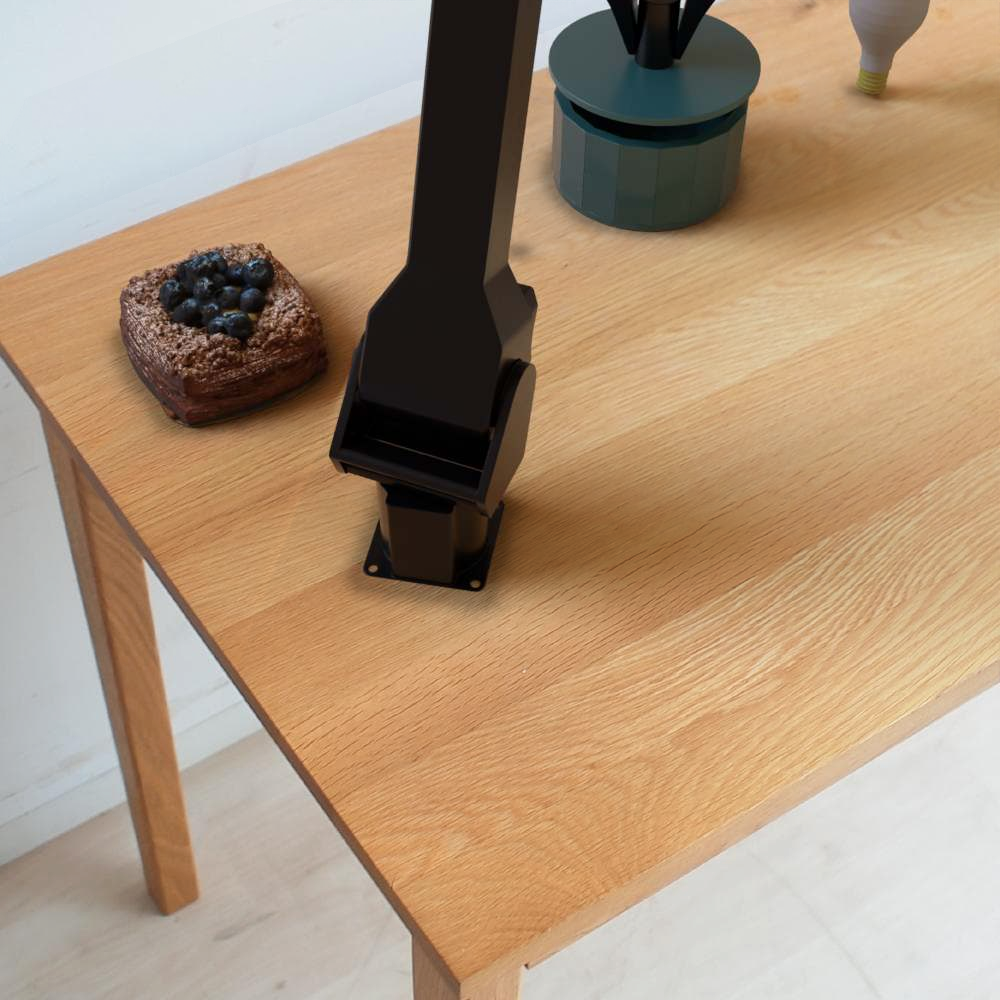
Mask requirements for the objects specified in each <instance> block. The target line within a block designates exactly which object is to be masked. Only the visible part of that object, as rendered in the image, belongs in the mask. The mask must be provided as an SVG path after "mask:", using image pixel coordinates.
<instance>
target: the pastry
mask: <svg viewBox="0 0 1000 1000" xmlns="http://www.w3.org/2000/svg"><path fill="white" fill-rule="evenodd" d="M128 281H129V284H126V285H125V286H124V287H123V288H122V289H121V291H120V296H119V304H120V318H119V320H118V323H119V327H120V334H121V340H122V342H123V345H124V347H125V350H126V353H127V357H128V359H129V362H130V363H131V365H132V367H133V369H134V371H135V372H136V375H137V376H138V378H139V379H140V381H141V382H142V383H143V385H144V386H145V387H146V388H147V389H148V391H149V392H150V393H151V395H153V396H154V398H155V399H156V400H157V401H158V403H159V404H160V406H161V408H162V410H163V411H164V413H165V415H166V417H167V418H168V419H171V420H172V421H174V422H176V423H178V424H180V425H183V426H186V427H202V426H206V425H212V424H216V423H222V422H225V421H230V420H234V419H238V418H241V417H245V416H249V415H250V414H254V413H256V412H259V411H262V410H265V409H267V408H268V409H269V408H270V407H274V406H276V405H278V404H281V403H283V402H285V401H289V400H291V399H292V398H294V397H296V396H298V395H299V394H301V393H302V392H304V391H305V390H307V389H309V388H310V387H312V385H314V384H315V383H316V382H318V381H319V380H320V379H321V378H323V377H324V376H325V375H327V373H328V370H329V365H330V363H331V360H330V359H329V356H328V355H329V354H328V350H327V346H328V342H327V340H326V337H325V334H324V327H323V322H322V317H321V316H320V313H319V312H318V310H317V308H316V305H315V304H314V302H313V301H312V299H311V298H310V295H309V294H308V293H307V292H306V290H305V289H304V287H303V286H302V285H301V284H300V282H299V281H298V280H297V279H296V278H295V277H294V275H292V273H291V272H290V271H289V269H287V267H286V266H284V265H283V263H282V262H281V261H279V260H278V259H277V258H276V257H274V255H273V253H272V250H270V249H267V248H265V245H264V243H262V242H250V243H235V244H234V243H233V242H230V243H227V244H226V245H225V244H221V246H218V245H214V246H213V247H211V248H209V247H207V248H205V249H203V250H201V251H199V250H197V249H195V248H193V249H191V251H190V252H189V254H188V257H187V258H183V259H182V260H180V261H176V262H171V263H170V264H168V265H163V267H157V268H152V269H146V270H145V271H144V272H143V275H142V276H138V275H134V276H132V277H130V279H129V280H128Z"/></svg>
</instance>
